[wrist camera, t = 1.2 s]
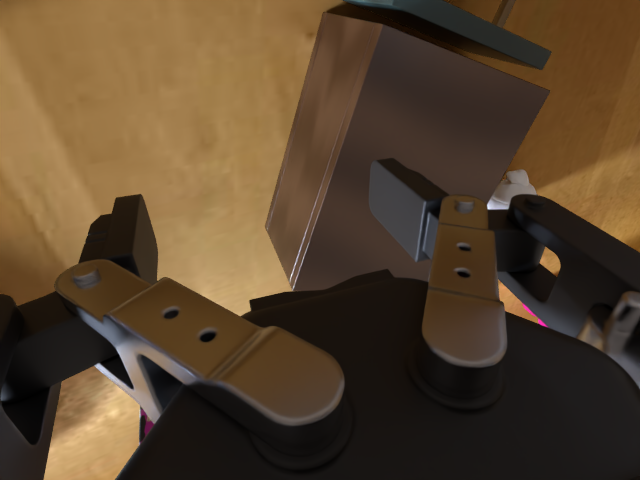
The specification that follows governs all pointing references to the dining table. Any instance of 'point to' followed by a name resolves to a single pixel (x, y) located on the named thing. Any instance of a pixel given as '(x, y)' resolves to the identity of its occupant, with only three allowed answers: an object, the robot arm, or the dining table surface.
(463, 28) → the drawer
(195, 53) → the dining table surface
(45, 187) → the dining table surface
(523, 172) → the garlic bulb
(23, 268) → the dining table surface
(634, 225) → the dining table surface
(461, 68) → the cabinet
